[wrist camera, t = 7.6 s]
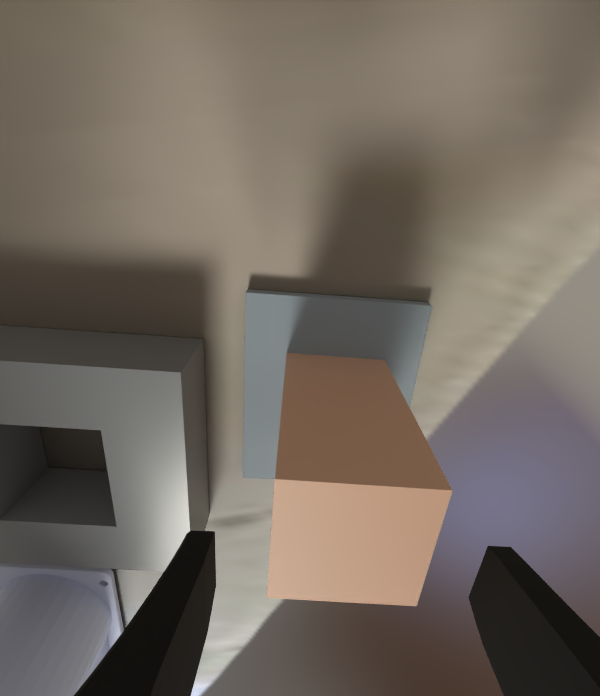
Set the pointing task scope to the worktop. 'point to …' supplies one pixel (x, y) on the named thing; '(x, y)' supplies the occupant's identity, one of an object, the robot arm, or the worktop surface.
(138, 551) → the plate
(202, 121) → the worktop surface
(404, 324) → the mat
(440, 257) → the worktop surface
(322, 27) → the worktop surface
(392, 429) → the plug
